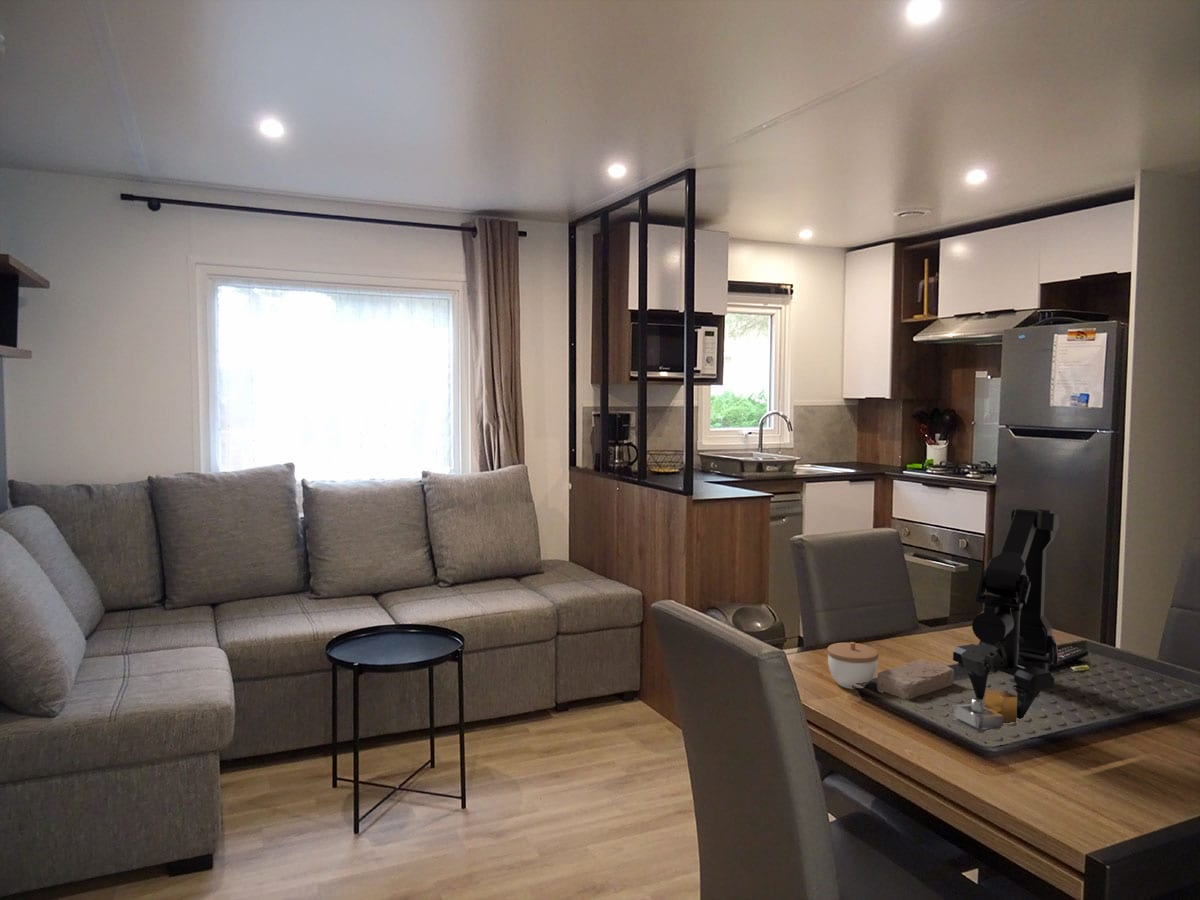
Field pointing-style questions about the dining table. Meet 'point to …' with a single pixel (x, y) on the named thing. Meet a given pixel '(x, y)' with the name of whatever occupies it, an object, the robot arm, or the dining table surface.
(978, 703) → the metal knob
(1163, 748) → the dining table surface
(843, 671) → the lidded jar
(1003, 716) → the grey and orange frame
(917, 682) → the brick
